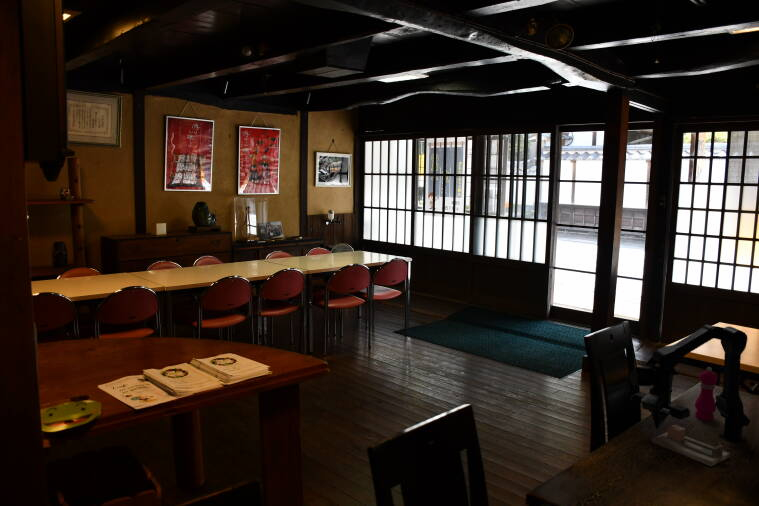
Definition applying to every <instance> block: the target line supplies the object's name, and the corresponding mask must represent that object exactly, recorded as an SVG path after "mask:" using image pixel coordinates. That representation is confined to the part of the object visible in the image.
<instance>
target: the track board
mask: <svg viewBox="0 0 759 506" xmlns="http://www.w3.org/2000/svg"><path fill="white" fill-rule="evenodd" d="M667 432H668V431H667ZM667 432H664V433H662V434H659V435H657V436H654V437H651V443H653V444H654V445H657V444H658V446H660V447H663V448H665V449H667V450H670V451H673V452H674V451H675V452H674V453H677V454H679V453H680V454H679V455H682V456H684V455H685V457H687V458H689V457H690V458H689V459H692V460H693V461H696V460H697V462H699V461H700V462H699V463H701V462H702V464H703V465H707V466H709V467H712V466H714V465H717V464H718V463H721V462H723V461H724V460H727V459H729V458H730V457H731V453H730V452H728V451H726V450H724V445H722V444H719V445H717V446H714V445H713V446H712V445H711V444H707V443H705V442H703V441H699V440H698V439H695V438H691V437H689V436H686V435H685V440H683V441H680V442H679V441H676V440H674V439H671V438H668V437H667Z"/></svg>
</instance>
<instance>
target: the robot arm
mask: <svg viewBox="0 0 759 506" xmlns="http://www.w3.org/2000/svg"><path fill="white" fill-rule="evenodd" d="M713 339H716V340H719V341H720V345H721V347H722V350H723V351H724V357H723V358H724V360H723V361H724V363H723V381H722V382H723V383H722V392H721V393H720V394H717V395H715V403H716V404H715V406H716V410H717V411H718V412H719V413H720V416H721V417H722V418H723V419H724V423H723V426H724V427H723V432H722V433H719V434H718V436H719V437H721V438H723V439H726V440H728V441H731V442H735V443H740V442H743V441H744V440H747V437H746V436H743V432H744V427H748V426H749V425H750V423H751V419H749V417H748V416H747V415H746V414H745V412H744V411H745V410H744V403H743V401H742V398H741V396H740V379H741V377H740V376H741V375H740V374H741V357H742V354H743V352H744V351H745V350H746V347H747V343H748V334H746V333H745V332H744V331H742V330H740V329H737V328H735V327H733V326H725V327H722V326H715V325H711V324H704V325H703V326H702V327H701V328H699V329H698V330H696V331H695V332H693V333H691V334H690V335H688V336H687V337H684V338H683V339H681V340H680V341H678V342H677V343H674V344H672V345H667V346H666V345H665V346H663V347H661V348H658V349H656V350H654V351H653V352H652V356H650V358H649V360H648V361H646V363H645V364H644V366H640V365H639V366H638V365H634V366H633V369H632V370H631V372H630V373H629V379H630V383H631V385H632V386H633V387H650V389H649V392H648V394H647V393H646V392H642V391H641V392H637V393H633V394H632V396H631V403H634V404H637V405H640V404H641V407H642V409H644V410H647V411H648V412H649V413H650V414H651V416H652V420H653V423H654V426H655V429H657V430H659V429H661V427H662V425H663V424H664V422H665V420H666V419H667V417H668V416H671V417H672V418H675V419H678V420H684V419H686V418H689V417H690V416H691V410H690V408H688V407H685V406H683V405H680V404H678V405H675V406H672V405H671V404H672V400H671V393H673V389H672V387H671V386H672V376H679V373H678V372H677V371H676V369H675V367H677V366H678V364H680V363H681V361H682V359H683V358H684V357H685V356H686V355H688V354H690V353H691V352H693V351H694V350H696V349H698V348H700V347H702V346H703V345H705V344H707V343H708V342H710V341H711V340H713ZM651 386H652V387H651Z"/></svg>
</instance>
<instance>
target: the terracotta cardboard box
mask: <svg viewBox="0 0 759 506" xmlns="http://www.w3.org/2000/svg"><path fill="white" fill-rule="evenodd" d="M686 429H687V428H685V427H682V426H679V425H677V424H672V425H669V426H667V437H668V438H671V439H674V440H676V441H679V442H680V441H683V440H685V436H686Z"/></svg>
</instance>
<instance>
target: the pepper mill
mask: <svg viewBox="0 0 759 506" xmlns="http://www.w3.org/2000/svg"><path fill="white" fill-rule="evenodd" d="M712 370H713V368H712V367H710V366H708V367H706V370H703V371H701V372H700V373H699V380H700V385H699V386H700V393H699V395H698V397H697V398H696V400H695V402H694V407H695V409H696V410H695V414H694V416H695V417H696V418H697V419H700V420H704V421H713V420H714V419H715V414H714V413H715V412H716V410H717V406H715V404H716V400H715V399H714V389H716V383H717V382H718V376H717V375H718V374H716V372H714V371H712Z"/></svg>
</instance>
